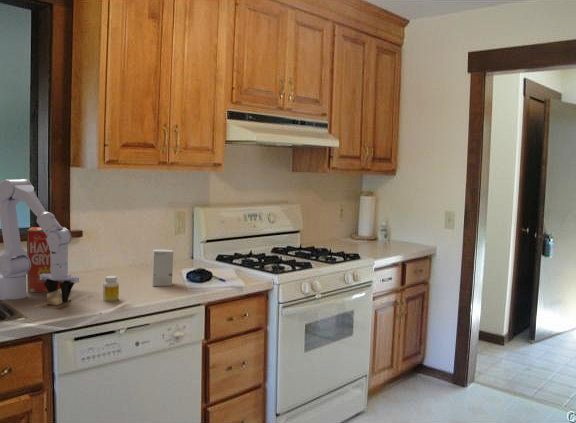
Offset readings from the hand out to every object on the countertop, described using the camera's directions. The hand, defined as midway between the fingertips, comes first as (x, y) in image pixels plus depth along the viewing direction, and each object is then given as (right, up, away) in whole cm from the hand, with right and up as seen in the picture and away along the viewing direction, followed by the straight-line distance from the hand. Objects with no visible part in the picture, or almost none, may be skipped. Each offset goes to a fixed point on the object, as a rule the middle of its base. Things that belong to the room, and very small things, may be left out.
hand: (59, 301), depth 189 cm
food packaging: (-13, 0, +19) cm, 23 cm away
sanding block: (0, -1, 0) cm, 1 cm away
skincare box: (+28, +1, +37) cm, 46 cm away
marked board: (+1, -1, +3) cm, 3 cm away
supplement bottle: (+16, -2, +6) cm, 18 cm away
